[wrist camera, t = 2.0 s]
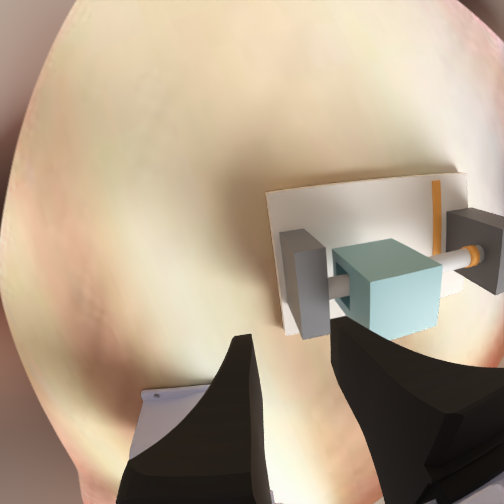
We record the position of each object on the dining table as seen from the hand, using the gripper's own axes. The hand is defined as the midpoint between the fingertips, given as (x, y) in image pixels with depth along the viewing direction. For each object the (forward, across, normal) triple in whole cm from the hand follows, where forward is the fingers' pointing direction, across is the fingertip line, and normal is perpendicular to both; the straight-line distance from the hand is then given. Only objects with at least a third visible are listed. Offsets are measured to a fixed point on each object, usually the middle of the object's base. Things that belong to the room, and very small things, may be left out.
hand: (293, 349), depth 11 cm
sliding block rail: (+10, -9, +1) cm, 14 cm away
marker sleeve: (+7, -6, +1) cm, 9 cm away
